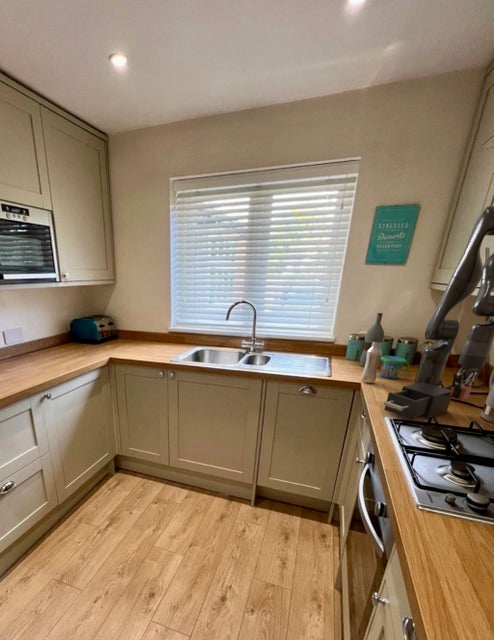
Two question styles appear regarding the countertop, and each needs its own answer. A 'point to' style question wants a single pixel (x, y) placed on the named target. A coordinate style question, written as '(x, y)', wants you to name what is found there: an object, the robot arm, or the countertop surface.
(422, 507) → the countertop surface
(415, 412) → the drawer
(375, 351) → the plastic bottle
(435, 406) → the cabinet
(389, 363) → the snack cup
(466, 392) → the block
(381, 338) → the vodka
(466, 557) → the countertop surface
